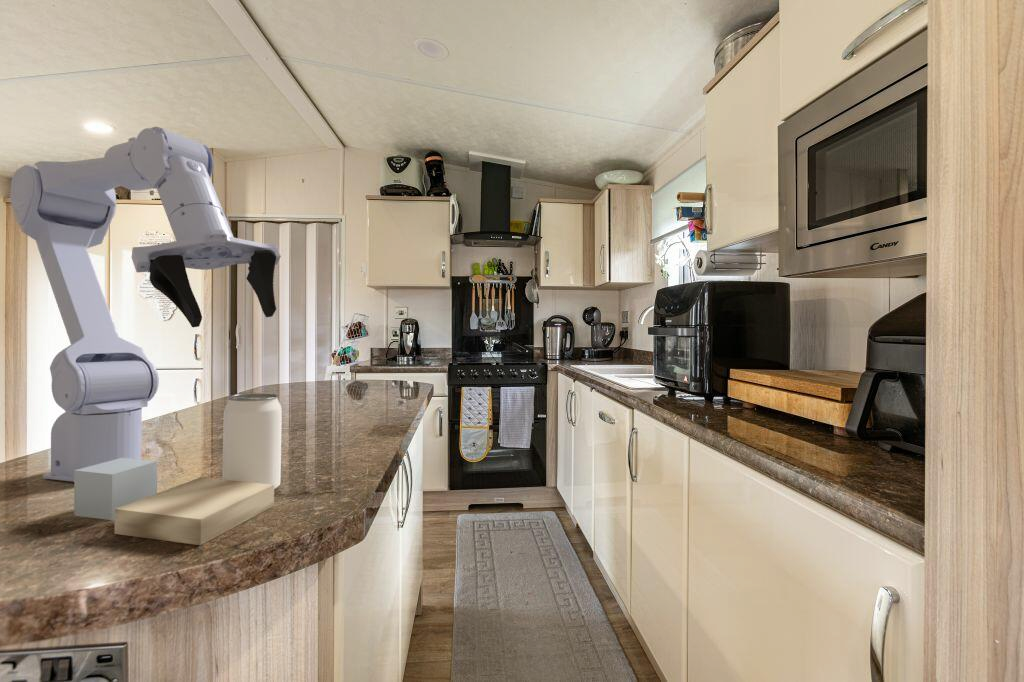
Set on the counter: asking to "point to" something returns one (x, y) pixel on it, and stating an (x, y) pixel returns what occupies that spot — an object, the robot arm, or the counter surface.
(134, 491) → the block
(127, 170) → the robot arm
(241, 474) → the can
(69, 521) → the counter surface
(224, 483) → the base
